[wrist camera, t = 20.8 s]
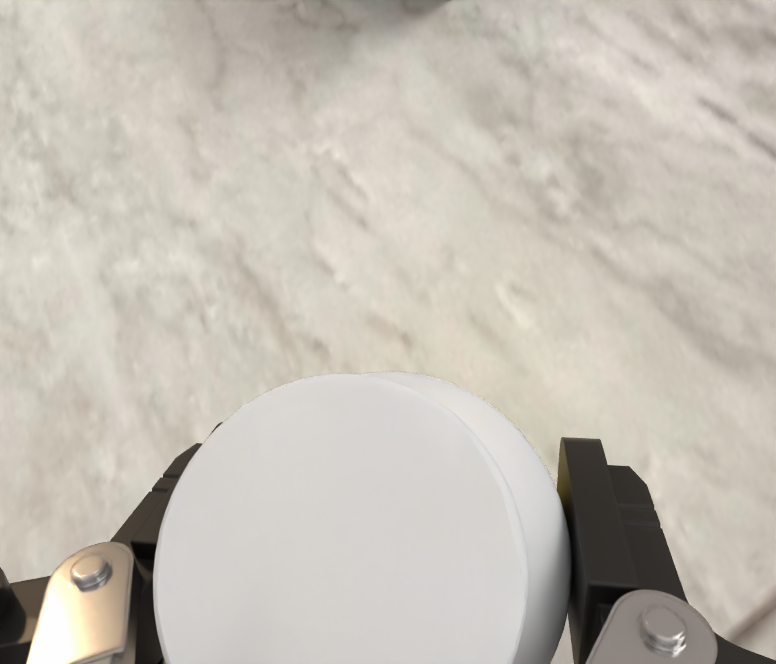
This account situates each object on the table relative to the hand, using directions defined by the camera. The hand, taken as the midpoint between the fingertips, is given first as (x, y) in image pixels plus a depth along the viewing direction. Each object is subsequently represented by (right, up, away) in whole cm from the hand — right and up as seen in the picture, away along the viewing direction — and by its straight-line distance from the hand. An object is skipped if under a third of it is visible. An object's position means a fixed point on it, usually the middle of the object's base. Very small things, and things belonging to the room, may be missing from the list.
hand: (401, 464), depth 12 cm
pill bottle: (+1, -4, +6) cm, 7 cm away
